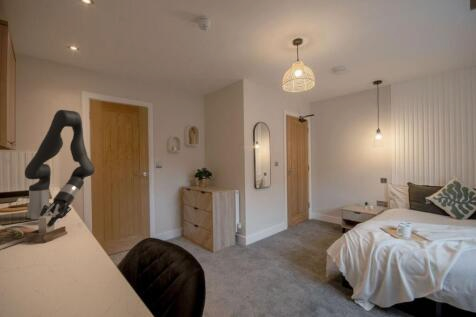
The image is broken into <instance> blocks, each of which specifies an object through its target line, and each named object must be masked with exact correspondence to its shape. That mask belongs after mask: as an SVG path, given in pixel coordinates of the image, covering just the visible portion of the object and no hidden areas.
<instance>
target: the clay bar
mask: <svg viewBox="0 0 476 317" xmlns="http://www.w3.org/2000/svg"><path fill="white" fill-rule="evenodd" d="M52 217H53V215H46V216H42V217H39V218H38V219H37V220H38V221H37V222H38V224H37V225H38V229H39V233H40V234H44V233H47V232H50V231H53V230H55V223H54V224H53V225H52V226H48V225H47V224H48V222H49V221H50V219H51V218H52Z"/></svg>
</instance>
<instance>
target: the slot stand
mask: <svg viewBox="0 0 476 317" xmlns="http://www.w3.org/2000/svg"><path fill="white" fill-rule="evenodd" d="M66 227H67V226H60V227H58V228H56V229H55V228H54V230H53V231H50V232H47V233H44V234H40V233H39V228H38V229H35V230H33V231H30V232H27V233H25V238H24V239H23V243H38V244H39V243H41V244H42V243H44V244H48V243H49V242H52V241H54V240H57V239H58V238H62V237H63V236H66V235H67V234H68V231H66Z"/></svg>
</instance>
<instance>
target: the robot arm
mask: <svg viewBox="0 0 476 317" xmlns="http://www.w3.org/2000/svg"><path fill="white" fill-rule="evenodd" d="M82 121H83V120H82V117H81V115H80V113H79V112H77V111H74V110H66V109H59V110H57V111H56V113H55V114H54V116H53V119H52V120H51V123H50V126H49V128H48V131H47V132H46V135H45V136H44V138H43V140H42V141H41V143H40V145H39V147H38V149H37V151H36V153H35V155H34V156H33V157H32V158H31V160H30V161H29V163H28V164H27V165H26V167H25V169H24V176H25V178H26V179H28V180H38V181H36V182H35V183H34V184H31V185H29V187H28V202H27V203H26V204H27V205H26V207H27V213H26V214H27V215H26V216H27V218H30V219H29V220H38V218H39V217H42V216H46V215H47V214H49V215H53V214H54V215H53V217H52V218H51V219H50V221H49V222H48V224H47V225H48V226H52V225H53V224H54V225H55V224H56V223H57V222H56V220H57V219H59V218H60V219H63V218H64V217H65V216H66V215H67V214H69V212H71V210H72V208H71V207H70V205H71V204H72V202H73V201H74V200H75V198H76V197H77V195H78V193H79V192H80V191H81V188H82V187H83V186H84V183H85V182H84V179H85V178H88V177H91V176H93V175H94V174H95V167H94V164H93V162H92V161H91V160H90V158H89V156H88V152H87V150H86V149H87V148H86V146H85V141H84V130H83V122H82ZM65 127H70V128H71V129H72V132H73V136H72V140H71V142H70V146H69V149H70V153H71V157H72V160H73V161H74V162H75V163H78V164H79V166H78V167H76V168H75V169H74V170H73V171H72V172H71V176H70V177H69V179H68V180H67V182H66V183H65V185H63V187H61V189H60V190H59V191H58V192H57V194H56V195H55V197H54V198H53V202H52V203H50V186H51V185H50V184H51V174H52V171H51V167H50V165H49V164H47V163H46V162H48V161H49V160H51V159H53V158H54V157H55V156H57V155H58V154H59V153H60V151H61V149H62V147H63V145H64V142H63V137H62V135H61V133H62V131H63V129H64V128H65ZM41 208H43V209H42V211H41ZM50 211H51V212H52V213H51V212H50ZM55 222H56V223H55Z"/></svg>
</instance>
